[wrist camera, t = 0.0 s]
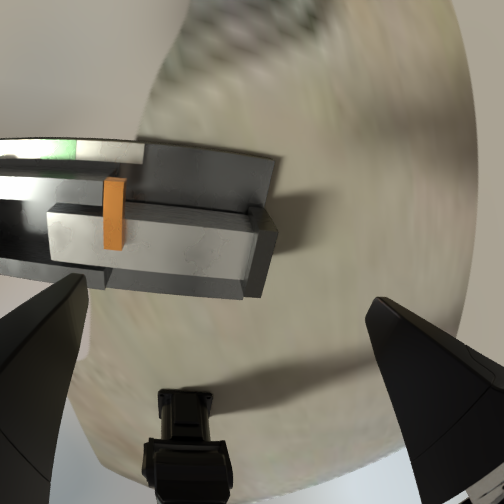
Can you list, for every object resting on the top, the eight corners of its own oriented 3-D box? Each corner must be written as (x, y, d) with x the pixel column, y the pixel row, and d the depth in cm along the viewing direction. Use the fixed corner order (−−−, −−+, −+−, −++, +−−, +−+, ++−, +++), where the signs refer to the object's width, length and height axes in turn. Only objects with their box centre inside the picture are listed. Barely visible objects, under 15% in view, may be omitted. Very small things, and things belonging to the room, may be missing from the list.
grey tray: (241, 294, 27) (252, 341, 22) (-3, 266, 21) (-32, 302, 16) (272, 158, 21) (296, 180, 16) (-17, 139, 16) (-60, 157, 11)
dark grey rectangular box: (251, 267, 24) (260, 297, 21) (66, 248, 21) (47, 276, 17) (270, 183, 21) (285, 203, 18) (63, 162, 18) (38, 177, 14)
